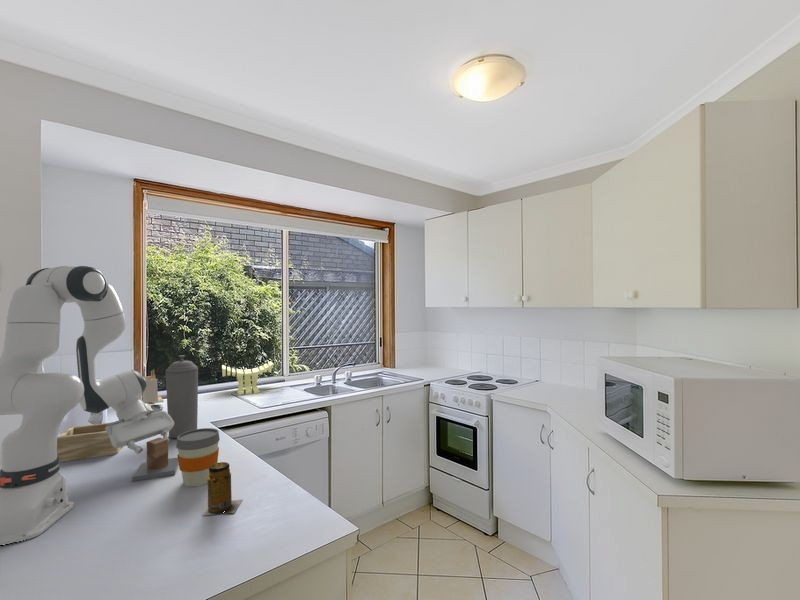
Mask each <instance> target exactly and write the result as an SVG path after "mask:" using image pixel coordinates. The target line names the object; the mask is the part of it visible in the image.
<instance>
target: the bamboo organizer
mask: <svg viewBox="0 0 800 600" xmlns="http://www.w3.org/2000/svg"><path fill="white" fill-rule="evenodd" d="M109 423H110V422H106V423H105V422H104V423H97V424H96V423H95V424H87V425H86V424H85V425H79V426H71V427H69V428H68V429H67V430H66V431H64V432H63V433H61V434H60V435H58V437H57V457H59V461H60V463H61V462H69V461H75V460H84V459H90V458H97V457H106V456H111V455H118V454H119V453H120V452H121V450H122V449H123V447H120V448H115V447H113V445H112V443H111V441H110V437H109V434H108V433H107V432H106V430H105V427H106V426H107V425H108V424H109Z"/></svg>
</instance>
